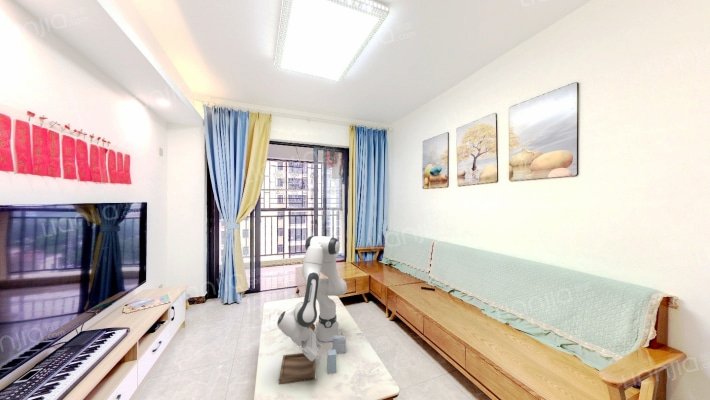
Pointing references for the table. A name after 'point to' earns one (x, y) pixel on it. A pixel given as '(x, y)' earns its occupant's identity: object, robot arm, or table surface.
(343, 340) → the medicine box
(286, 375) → the walnut tray
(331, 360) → the slate block
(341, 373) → the table surface
